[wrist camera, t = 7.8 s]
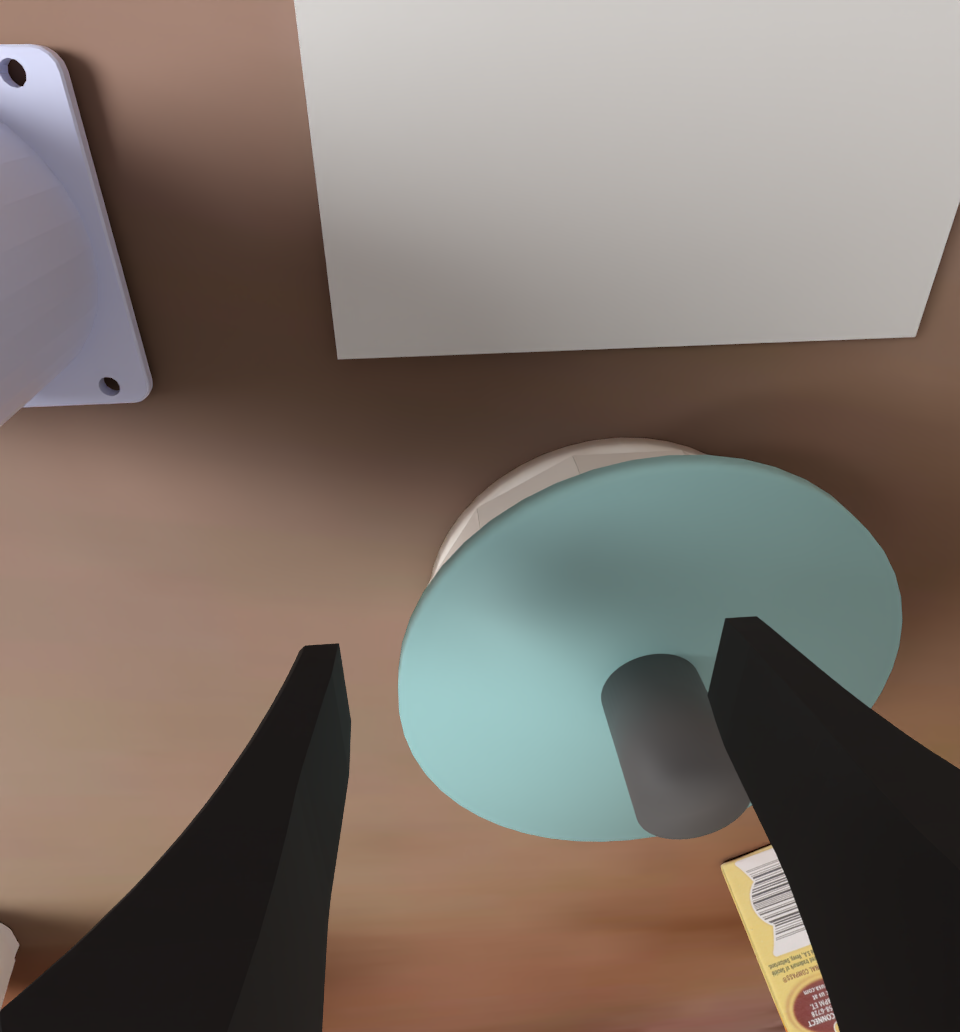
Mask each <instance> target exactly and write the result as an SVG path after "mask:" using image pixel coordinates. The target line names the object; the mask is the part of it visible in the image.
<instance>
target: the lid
mask: <svg viewBox="0 0 960 1032" xmlns="http://www.w3.org/2000/svg"><path fill="white" fill-rule="evenodd" d="M751 616H757V617H758V618H760V619H761V620H762V621H764V622H765V623H766V624H767V625H768V626H770V627H771V628H772V629H773V630H775V631H776V632H777V633H778V634H779V635H781V636H782V637H783V638H784V639H785V640H786V641H788V642H789V643H790V644H791V645H792V646H794V647H795V648H796V649H797V650H798V651H800V652H801V653H802V654H803V655H804V656H806V657H807V658H808V659H809V660H810V661H812V662H813V663H814V664H815V665H816V666H818V667H819V668H820V669H821V670H822V671H824V672H825V673H826V674H827V675H829V676H830V677H831V678H832V679H833V680H835V681H836V682H837V683H838V684H840V685H841V686H842V687H843V688H845V689H846V690H847V691H849V692H850V693H851V694H852V695H854V696H855V697H856V698H857V699H859V700H860V701H861V702H863V703H864V704H865V705H867V706H868V707H869V708H872V706H873V705H874V703H875V701H876V700H877V698H878V697H879V695H880V694H881V692H882V690H883V688H884V686H885V683H886V681H887V679H888V677H889V675H890V673H891V671H892V668H893V665H894V662H895V658H896V655H897V652H898V648H899V644H900V636H901V629H902V604H901V595H900V591H899V587H898V583H897V579H896V575H895V573H894V571H893V569H892V566H891V564H890V562H889V560H888V558H887V556H886V554H885V552H884V551H883V549H882V548H881V547H880V545H879V544H878V543H877V541H876V540H875V539H874V537H873V536H872V535H871V534H870V532H869V531H868V530H867V529H866V528H865V527H864V526H863V525H862V524H861V523H860V522H859V521H858V520H857V519H856V518H855V517H854V516H853V515H852V514H851V513H850V512H849V511H848V510H847V509H846V508H845V507H844V506H843V505H841V504H840V503H839V502H838V501H837V500H836V499H835V498H834V497H832V496H831V495H830V494H828V493H827V492H825V491H824V490H822V489H820V488H819V487H817V486H815V485H814V484H812V483H811V482H809V481H807V480H806V479H803V478H801V477H799V476H796V475H794V474H791V473H789V472H787V471H784V470H782V469H779V468H777V467H774V466H770V465H766V464H762V463H758V462H754V461H750V460H746V459H740V458H731V457H723V456H714V455H667V456H659V457H651V458H644V459H636V460H630V461H626V462H621V463H617V464H613V465H609V466H605V467H601V468H597V469H593V470H590V471H587V472H585V473H582V474H579V475H576V476H574V477H571V478H568V479H566V480H563V481H560V482H557V483H555V484H553V485H551V486H549V487H547V488H545V489H543V490H541V491H539V492H537V493H535V494H533V495H531V496H529V497H527V498H525V499H523V500H521V501H520V502H518V503H517V504H515V505H513V506H512V507H510V508H509V509H507V510H506V511H504V512H503V513H501V514H500V515H498V516H496V517H495V518H493V519H492V520H490V521H489V522H488V523H487V524H486V525H484V526H483V527H482V528H481V529H480V530H478V531H477V532H476V533H475V534H474V535H472V536H471V537H470V538H469V539H468V540H466V541H465V542H464V543H463V544H462V545H461V546H460V547H459V548H458V549H457V550H456V551H455V553H454V554H453V555H452V556H451V557H450V558H449V559H448V560H447V561H446V562H445V563H444V564H443V565H442V566H441V568H440V569H439V571H438V572H437V573H436V575H435V576H434V578H433V579H432V580H431V582H430V583H429V585H428V586H427V588H426V589H425V590H424V592H423V594H422V596H421V598H420V600H419V601H418V603H417V605H416V607H415V609H414V611H413V613H412V615H411V617H410V620H409V623H408V626H407V629H406V633H405V636H404V639H403V642H402V647H401V654H400V661H399V675H398V694H399V714H400V718H401V723H402V727H403V731H404V736H405V738H406V740H407V742H408V745H409V747H410V749H411V751H412V754H413V756H414V757H415V759H416V760H417V762H418V763H419V765H420V766H421V768H422V769H423V771H424V772H425V774H426V775H427V776H428V777H429V778H430V779H431V780H432V781H433V782H434V783H435V785H436V786H437V787H438V788H439V789H440V790H441V791H442V792H444V793H445V794H446V795H448V796H449V797H450V798H451V799H453V800H454V801H455V802H456V803H458V804H459V805H461V806H462V807H464V808H466V809H468V810H469V811H471V812H473V813H474V814H476V815H478V816H480V817H482V818H484V819H486V820H489V821H491V822H493V823H496V824H498V825H500V826H503V827H506V828H510V829H513V830H516V831H519V832H523V833H526V834H531V835H536V836H541V837H546V838H552V839H561V840H571V841H598V842H605V841H621V840H633V839H641V838H648V837H655V836H658V837H661V838H666V839H690V838H696V837H700V836H704V835H707V834H710V833H713V832H716V831H718V830H720V829H722V828H724V827H726V826H727V825H729V824H730V823H732V822H733V821H735V820H736V819H737V818H738V817H739V816H740V815H741V814H742V813H743V812H744V811H745V810H746V809H747V808H748V807H750V806H752V804H751V802H750V799H749V797H748V795H747V793H746V791H745V789H744V787H743V785H742V783H741V781H740V779H739V777H738V774H737V772H736V770H735V768H734V766H733V764H732V762H731V760H730V758H729V755H728V753H727V751H726V749H725V747H724V744H723V741H722V739H721V736H720V733H719V730H718V727H717V724H716V721H715V718H714V715H713V712H712V708H711V705H710V702H709V699H708V696H707V695H708V691H709V686H710V682H711V678H712V673H713V669H714V665H715V660H716V656H717V652H718V647H719V643H720V638H721V634H722V630H723V625H724V621H725V618H736V617H751Z"/></svg>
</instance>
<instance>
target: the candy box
mask: <svg viewBox="0 0 960 1032" xmlns="http://www.w3.org/2000/svg"><path fill="white" fill-rule="evenodd" d="M721 870H722V872H723V875H724V878H725V880H726V882H727V885H728V887H729V890H730V892H731V895H732V897H733V900H734V902H735V905H736V907H737V910H738V912H739V915H740V917H741V920H742V922H743V925H744V927H745V930H746V932H747V935H748V937H749V940H750V942H751V945H752V947H753V950H754V952H755V955H756V958H757V960H758V963H759V965H760V968H761V970H762V972H763V975H764V977H765V980H766V982H767V985H768V987H769V990H770V992H771V995H772V997H773V1000H774V1002H775V1005H776V1007H777V1010H778V1012H779V1015H780V1017H781V1020H782V1022H783V1025H784V1027H785V1030H786V1032H840V1031H839V1028H838V1025H837V1022H836V1018H835V1015H834V1012H833V1009H832V1006H831V1003H830V999H829V996H828V993H827V990H826V987H825V984H824V981H823V978H822V975H821V972H820V970H819V967H818V964H817V961H816V958H815V955H814V952H813V949H812V946H811V943H810V940H809V938H808V935H807V932H806V929H805V926H804V924H803V921H802V918H801V916H800V913H799V910H798V907H797V905H796V902H795V899H794V897H793V894H792V891H791V888H790V886H789V883H788V880H787V878H786V876H785V873H784V871H783V869H782V867H781V864H780V862H779V860H778V857H777V855H776V853H775V851H774V849H773V847H772V845H769V846H767V847H764V848H762V849H759V850H757V851H754V852H752V853H750V854H747V855H744V856H742V857H739V858H736V859H734V860H731V861H728V862H725V863H723V864H722V865H721Z"/></svg>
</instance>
